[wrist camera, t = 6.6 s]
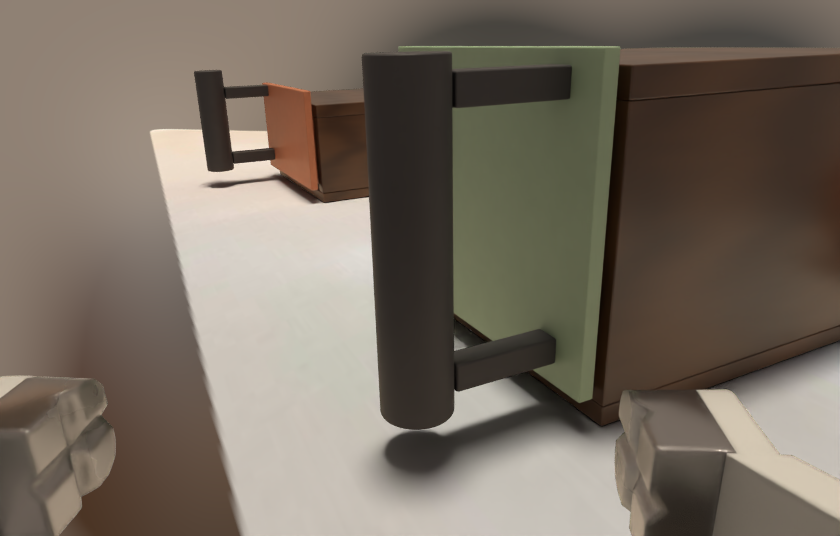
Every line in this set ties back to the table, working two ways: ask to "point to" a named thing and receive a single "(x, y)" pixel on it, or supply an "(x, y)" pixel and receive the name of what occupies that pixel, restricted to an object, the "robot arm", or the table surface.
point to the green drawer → (486, 216)
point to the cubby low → (339, 145)
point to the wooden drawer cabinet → (717, 219)
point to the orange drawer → (284, 126)
